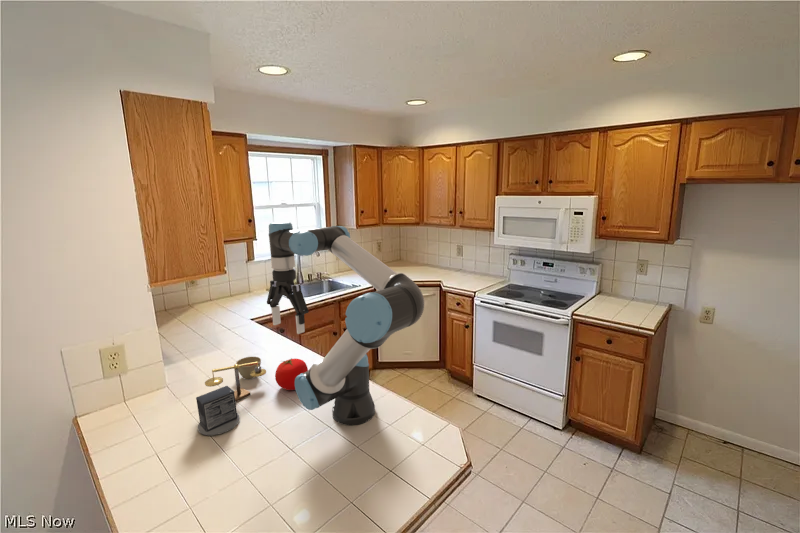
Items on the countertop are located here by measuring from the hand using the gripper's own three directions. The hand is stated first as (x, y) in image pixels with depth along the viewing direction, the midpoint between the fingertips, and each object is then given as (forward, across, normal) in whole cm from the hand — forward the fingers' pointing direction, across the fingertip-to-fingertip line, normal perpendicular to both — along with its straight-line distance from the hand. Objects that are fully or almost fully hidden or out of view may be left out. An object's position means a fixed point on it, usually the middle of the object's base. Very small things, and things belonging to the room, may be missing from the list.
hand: (288, 328), depth 131 cm
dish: (+32, +14, +21) cm, 41 cm away
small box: (+31, +14, +21) cm, 40 cm away
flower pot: (+32, +37, -4) cm, 49 cm away
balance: (+32, +26, +7) cm, 42 cm away
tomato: (+32, +15, -10) cm, 37 cm away
